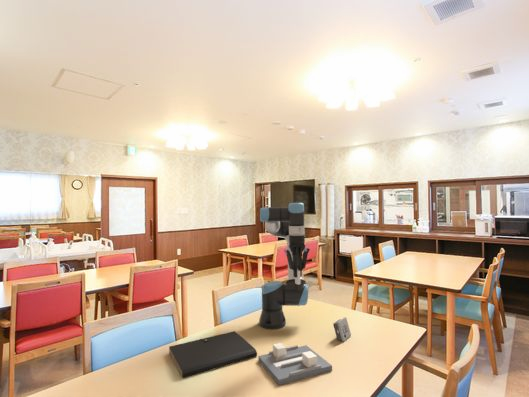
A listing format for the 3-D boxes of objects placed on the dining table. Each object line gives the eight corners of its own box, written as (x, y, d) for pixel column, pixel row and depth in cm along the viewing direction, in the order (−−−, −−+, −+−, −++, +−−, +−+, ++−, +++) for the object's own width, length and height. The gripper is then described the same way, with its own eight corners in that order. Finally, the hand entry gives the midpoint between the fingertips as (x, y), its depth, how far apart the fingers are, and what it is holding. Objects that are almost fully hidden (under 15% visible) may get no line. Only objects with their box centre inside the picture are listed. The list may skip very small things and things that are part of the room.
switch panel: (258, 360, 131) (258, 353, 132) (306, 349, 141) (306, 343, 141) (278, 385, 113) (278, 377, 113) (332, 370, 123) (331, 362, 123)
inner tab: (273, 353, 133) (272, 344, 133) (281, 351, 134) (281, 342, 134) (278, 359, 128) (277, 349, 128) (286, 357, 130) (286, 347, 130)
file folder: (234, 330, 156) (257, 349, 135) (234, 338, 156) (257, 358, 135) (168, 345, 139) (182, 370, 118) (168, 354, 139) (182, 381, 118)
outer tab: (302, 362, 125) (302, 352, 125) (310, 360, 126) (310, 350, 126) (308, 368, 120) (308, 358, 120) (317, 366, 122) (317, 356, 122)
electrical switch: (343, 342, 148) (341, 322, 149) (334, 340, 151) (332, 321, 152) (351, 336, 155) (349, 317, 156) (342, 334, 158) (340, 316, 159)
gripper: (288, 236, 141) (289, 287, 140) (312, 234, 146) (313, 283, 145) (281, 234, 148) (282, 283, 147) (304, 233, 153) (305, 280, 152)
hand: (297, 283), depth 146 cm, fingers closed
